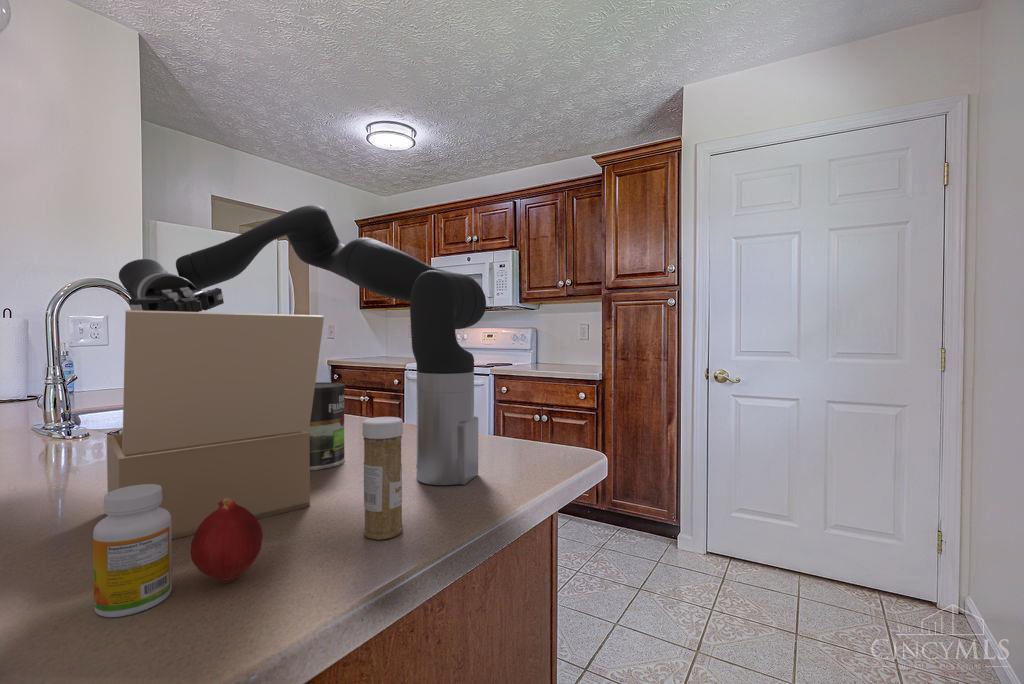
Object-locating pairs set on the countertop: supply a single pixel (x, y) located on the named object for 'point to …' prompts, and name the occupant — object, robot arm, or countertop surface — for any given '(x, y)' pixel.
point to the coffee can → (327, 426)
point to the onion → (226, 542)
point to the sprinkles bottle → (382, 477)
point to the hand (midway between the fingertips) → (192, 308)
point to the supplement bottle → (132, 552)
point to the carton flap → (216, 377)
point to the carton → (219, 476)
